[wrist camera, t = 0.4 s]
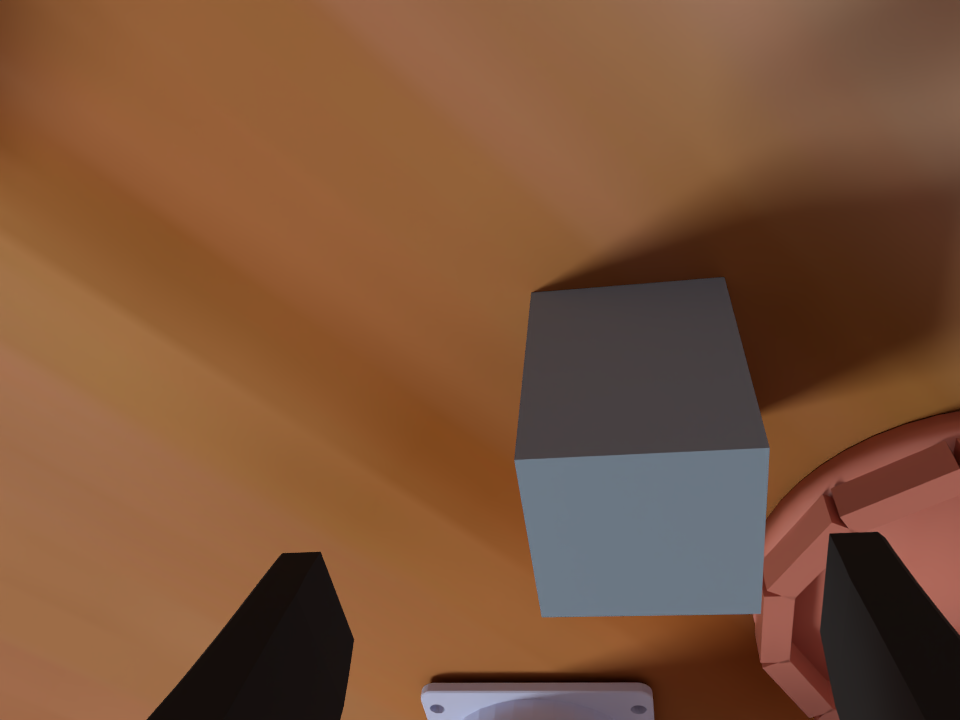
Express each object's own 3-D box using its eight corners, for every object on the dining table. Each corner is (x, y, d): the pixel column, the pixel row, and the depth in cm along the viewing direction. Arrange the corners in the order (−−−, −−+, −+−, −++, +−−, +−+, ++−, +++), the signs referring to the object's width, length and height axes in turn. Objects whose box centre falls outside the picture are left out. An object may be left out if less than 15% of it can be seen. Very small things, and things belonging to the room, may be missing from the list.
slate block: (722, 425, 22) (760, 613, 17) (551, 434, 23) (541, 617, 18) (724, 276, 20) (769, 448, 15) (531, 291, 20) (514, 460, 16)
